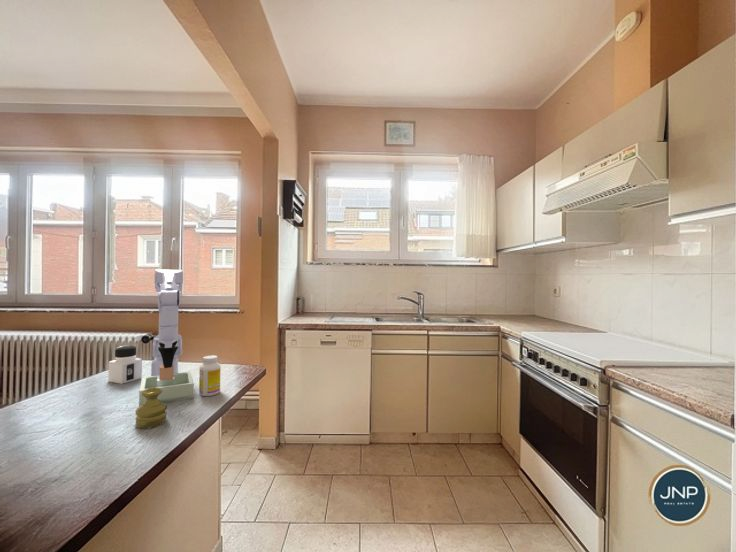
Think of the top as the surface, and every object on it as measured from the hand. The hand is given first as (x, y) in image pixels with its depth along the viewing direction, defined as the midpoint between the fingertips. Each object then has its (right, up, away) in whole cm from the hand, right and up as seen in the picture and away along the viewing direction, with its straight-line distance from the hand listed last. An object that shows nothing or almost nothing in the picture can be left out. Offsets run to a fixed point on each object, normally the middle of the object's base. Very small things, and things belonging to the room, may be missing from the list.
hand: (167, 364), depth 113 cm
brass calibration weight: (+8, -11, -21) cm, 25 cm away
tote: (0, -10, 0) cm, 10 cm away
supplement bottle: (+13, -11, +2) cm, 17 cm away
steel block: (-1, -9, 0) cm, 9 cm away
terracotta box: (0, -4, 0) cm, 4 cm away
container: (-25, -10, +14) cm, 31 cm away
